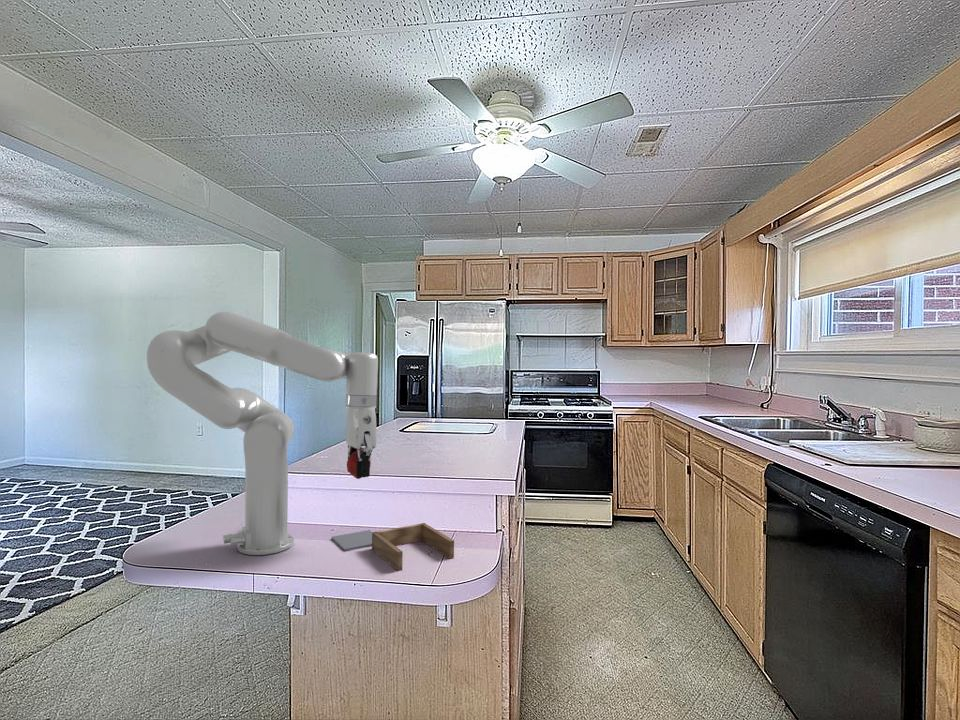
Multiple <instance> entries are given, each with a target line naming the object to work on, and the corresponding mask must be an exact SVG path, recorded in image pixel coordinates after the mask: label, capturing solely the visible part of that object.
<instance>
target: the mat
mask: <svg viewBox="0 0 960 720" xmlns="http://www.w3.org/2000/svg"><path fill="white" fill-rule="evenodd" d="M372 532H373V531H371V530H370V529H368V530H362V531H357V532H352V533H351V532H350V533H345V534H339V535H338V534H337V535H334V536H331V540H332V541H334V543H335V544H336V545H337V546H338V547H339V548H341V549H342V550H343V551H344V552H348V551H349V552H350V551H352V550H353V551H354V550H358V549H362V548H368V547H372Z"/></svg>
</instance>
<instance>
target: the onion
mask: <svg viewBox="0 0 960 720" xmlns="http://www.w3.org/2000/svg"><path fill="white" fill-rule="evenodd" d="M360 448H363V446H361V447H360ZM361 453H363V451H361ZM357 461H358V450H356V451H355V452H353V453H352V454H351V455H350V457H349V458H348V457H347V460H346V469H348V471H349V472H348V471H347V472H348V473H349V474H350V475H351V476H352V477H354V478H355V479H357V480H360V479H361V478H357V477H356V468H357ZM371 464H372V462H371V460H370V466H371Z"/></svg>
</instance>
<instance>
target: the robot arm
mask: <svg viewBox="0 0 960 720" xmlns="http://www.w3.org/2000/svg"><path fill="white" fill-rule="evenodd" d="M230 352H234V353H239V354H241V355H245V356H248V357H250V358H254V359H256V360H259V361H261V362H265V363H267V364H269V365H271V366H272V365H273V366H275V367H280V368H283V369H285V370H288V371H292V372H293V373H296V374H300V375H303V376H306V377H309V378H312V379H315V380H317V381H321V382H328V383H329V382H335V381H339V380H346V384H345V408H346V409H347V414H346V425H345V442H346V444H347V459H348V458H349V457H350V455H351V454H352V453H353V452H355V451H356V450H358V461H357V468H356V477H357V478H360V479H361V478H368V477H370V475H371V474H370V471H371V465H370V461H371V460H372V458H371V457H372V452H373V451H374V450H373V449H375V448H376V447H377V415H376V414H377V413H376V409H377V395H378V394H377V393H378V372H379V371H378V370H379V358H378V356H377V354H375V353H372V352H360V351H357V352H350V353H349V352H343V351H338V350H333V349H329V348H325V347H323V346H319V345H316V344H313V343H310V342H307V341H305V340H302V339H299V338H298V337H295V336H293V335H290V334H289V333H288V332H286V331H285V330H282V329H279V328H276V327H273V326H271V325H267V324H264V323H262V322H258V321H256V320H254V319H250V318H247V317H244V316H242V315H240V314H237V313H233V312H229V311H219V312H216V313H214V314H212V315H211V316H210V317H209V318H208V319H207V321H206V322H205V325H204V326H201V327H197V328H195V329H192V330H189V331H184V330H177V329H176V330H175V329H173V330H172V329H171V330H165V331H163V332H160V333H158V334H156V335H155V336H154V337H153V338H152V339H151V341H150V342H149V344H148V346H147V350H146V364H147V369H148V372H149V374H150V375H151V377H152V378H153V380H154V381H155V382H156V384H157V385H158V386H160V388H162V389H163V391H166V393H168V394H169V395H171V396H172V397H174V398H175V399H177V400H179V401H180V402H182V403H183V404H185V405H186V406H188V407H189V408H191V409H192V410H193V411H195V412H196V413H197V414H199V415H201V416H202V417H204V418H205V419H207V420H208V421H210V422H211V423H212V424H214V425H215V426H217V427H218V428H221V429H225V430H232V429H237V428H238V429H239V430H241V431H243V432H244V435H243V453H244V466H245V470H244V471H245V472H244V474H245V476H244V477H245V479H244V480H245V481H244V482H245V484H244V485H245V493H244V496H245V498H244V500H245V504H244V506H245V507H244V509H245V510H244V513H245V514H244V516H245V517H244V518H245V519H244V527H241V531H237V533H234V534H233V533H230V534H224V535H222V542H223V543H222V544H230V546H234V545H237V551H238V550H239V551H240V553H241V554H244V555H250V556H264V555H271V554H276V553H280V552H282V551H286V550H288V549H289V548H291V547H292V546H294V544H295V538H294V536H293V535H292V534H289V533H288V521H289V520H288V519H289V518H288V517H289V516H288V515H289V514H288V510H289V509H288V505H289V504H288V501H289V497H288V496H289V492H288V491H289V477H288V476H289V468H288V467H289V465H288V464H289V463H288V461H289V460H288V444H289V443H290V442H291V440H292V439H293V437H294V435H295V434H294V433H295V426H294V422H293V420H292V419H291V417H289V415H288V414H286V413H285V412H284V411H282V410H281V409H279V408H278V407H276V406H274V405H273V404H271V403H270V402H269V401H268V400H266V399H264V398H262V396H260V395H258V394H257V393H254V392H253V391H251V390H249V389H247V388H242V387H234V388H233V387H230V386H228V385H225V384H224V383H223V382H220V381H219V380H217V379H216V378H215V377H213V376H212V375H210V374H209V373H208V372H207V371H204V370H202V369H200V368H198V366H197V365H199V364H202V363H205V362H207V361H210V360H213V359H215V358H217V357H220V356H222V355H225V354H227V353H230ZM360 447H362V448H360ZM361 451H363V453H361ZM346 469H347V468H346ZM347 472H348V473H349V471H348V469H347ZM239 551H238V552H239Z"/></svg>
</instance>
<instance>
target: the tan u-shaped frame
mask: <svg viewBox="0 0 960 720" xmlns="http://www.w3.org/2000/svg"><path fill="white" fill-rule="evenodd" d="M371 532H372V546H371V550H372V551H374V553H376V554H377V553H378V554H379V555H378V554H377V555H378V556H379V557H381V558H382V557H383V558H384V559H385V560H384V559H383V558H382V559H383V560H384V561H385V562H387V563H388V562H389V563H390V564H391V567H393V568H394V569H395V570H396V571H397V572H400V571H403V559H404V558H403V554H404V553H403V550H401V549H400V548H399V547H398V546H401V545H402V544H403V545H406V544H411V543H417V542H420V541H421V542H423V543H424V542H426V543H425V544H427V545H428V544H429V546H430V547H432V548H433V547H434V548H433V549H435V550H436V551H437V552H439V551H440V552H439V553H441V554H442V555H443V556H446V558H448V557H449V558H448V559H454V558H455V540H454V539H452V538H451V537H448V535H446V534H444V533H442V532H440V531H438V530H437V529H436V528H434V527H432V526H431V525H428V524H427V523H425V522H422V523H416V524H411V525H406V526H400V527H395V528H389V529H384V530H383V529H382V530H378V531H371ZM422 540H423V541H422ZM397 545H398V546H397ZM389 563H388V564H389ZM390 564H389V565H390Z"/></svg>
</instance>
